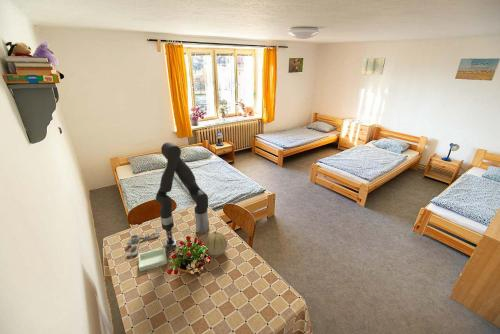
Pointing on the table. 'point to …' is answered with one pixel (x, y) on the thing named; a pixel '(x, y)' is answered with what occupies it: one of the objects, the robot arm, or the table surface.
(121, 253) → the table surface
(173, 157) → the robot arm
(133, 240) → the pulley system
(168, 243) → the lock pin
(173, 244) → the tensioner block
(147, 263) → the tray
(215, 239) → the cantaloupe
